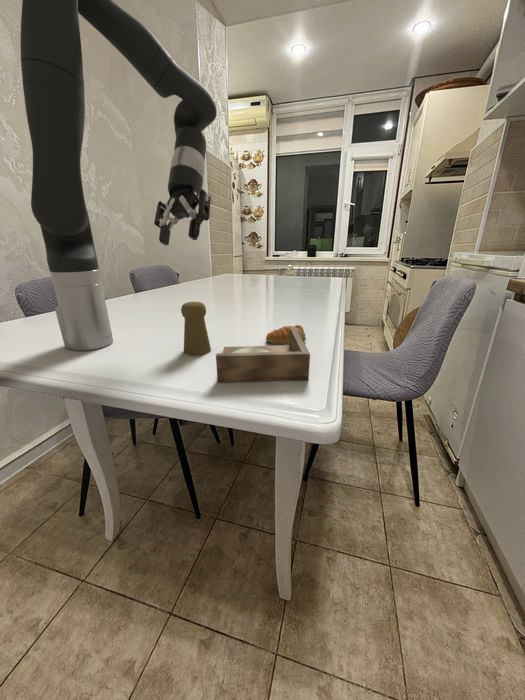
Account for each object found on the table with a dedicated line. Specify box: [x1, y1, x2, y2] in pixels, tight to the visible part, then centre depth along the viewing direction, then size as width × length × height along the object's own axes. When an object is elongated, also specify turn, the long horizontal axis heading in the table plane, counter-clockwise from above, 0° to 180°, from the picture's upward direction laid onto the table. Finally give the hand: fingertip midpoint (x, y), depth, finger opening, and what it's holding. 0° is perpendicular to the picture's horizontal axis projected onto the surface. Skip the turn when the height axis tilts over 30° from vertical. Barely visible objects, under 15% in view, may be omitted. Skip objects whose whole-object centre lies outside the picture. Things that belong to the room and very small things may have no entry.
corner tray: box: [215, 327, 311, 384], centre depth 57 cm, size 16×16×5 cm
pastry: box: [265, 324, 307, 345], centre depth 71 cm, size 9×7×4 cm
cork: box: [180, 301, 212, 357], centre depth 63 cm, size 6×6×11 cm
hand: (177, 241), depth 65 cm, fingers open, 8 cm apart
